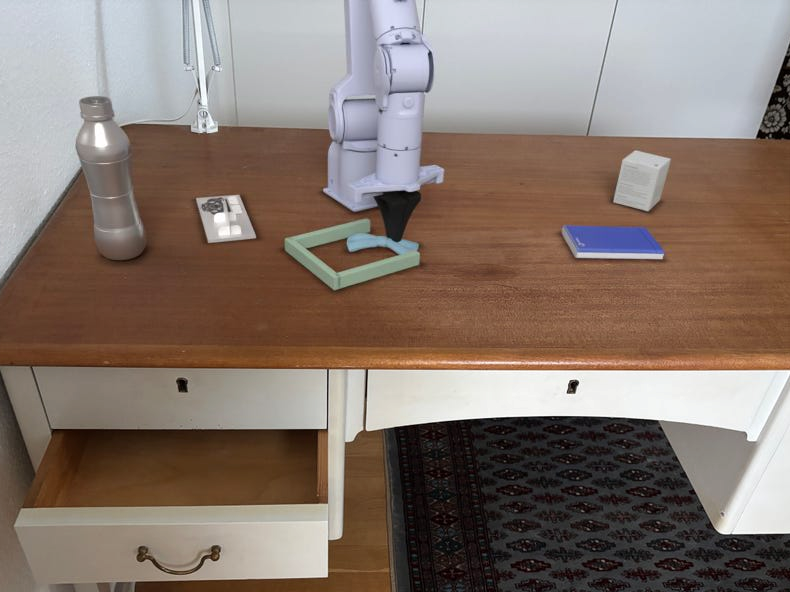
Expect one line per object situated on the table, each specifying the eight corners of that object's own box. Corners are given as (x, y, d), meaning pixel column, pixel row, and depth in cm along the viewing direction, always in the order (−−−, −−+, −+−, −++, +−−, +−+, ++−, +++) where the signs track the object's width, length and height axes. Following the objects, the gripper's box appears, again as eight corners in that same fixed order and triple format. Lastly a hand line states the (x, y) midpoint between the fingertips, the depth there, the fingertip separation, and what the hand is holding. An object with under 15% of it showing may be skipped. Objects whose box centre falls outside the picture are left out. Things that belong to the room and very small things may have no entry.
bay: (284, 250, 98) (284, 238, 97) (366, 229, 105) (366, 218, 104) (334, 290, 90) (334, 277, 89) (419, 265, 97) (420, 252, 96)
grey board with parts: (256, 238, 101) (254, 208, 99) (208, 242, 99) (204, 212, 97) (239, 197, 113) (237, 169, 110) (196, 200, 111) (193, 172, 108)
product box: (660, 201, 119) (672, 158, 114) (647, 213, 115) (660, 168, 110) (624, 191, 122) (635, 149, 117) (611, 202, 117) (621, 159, 113)
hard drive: (578, 249, 99) (665, 250, 100) (563, 223, 106) (644, 225, 107) (576, 259, 100) (662, 260, 101) (561, 233, 107) (642, 235, 108)
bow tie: (342, 240, 98) (350, 225, 102) (342, 251, 99) (350, 236, 103) (415, 250, 97) (421, 235, 101) (414, 261, 98) (420, 245, 102)
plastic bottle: (102, 270, 92) (70, 111, 80) (93, 248, 97) (61, 95, 85) (154, 261, 94) (129, 105, 83) (142, 240, 99) (117, 90, 88)
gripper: (370, 162, 86) (366, 263, 94) (462, 143, 93) (451, 238, 101) (339, 145, 91) (338, 242, 99) (428, 128, 98) (421, 220, 106)
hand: (393, 239), depth 100 cm, fingers closed
